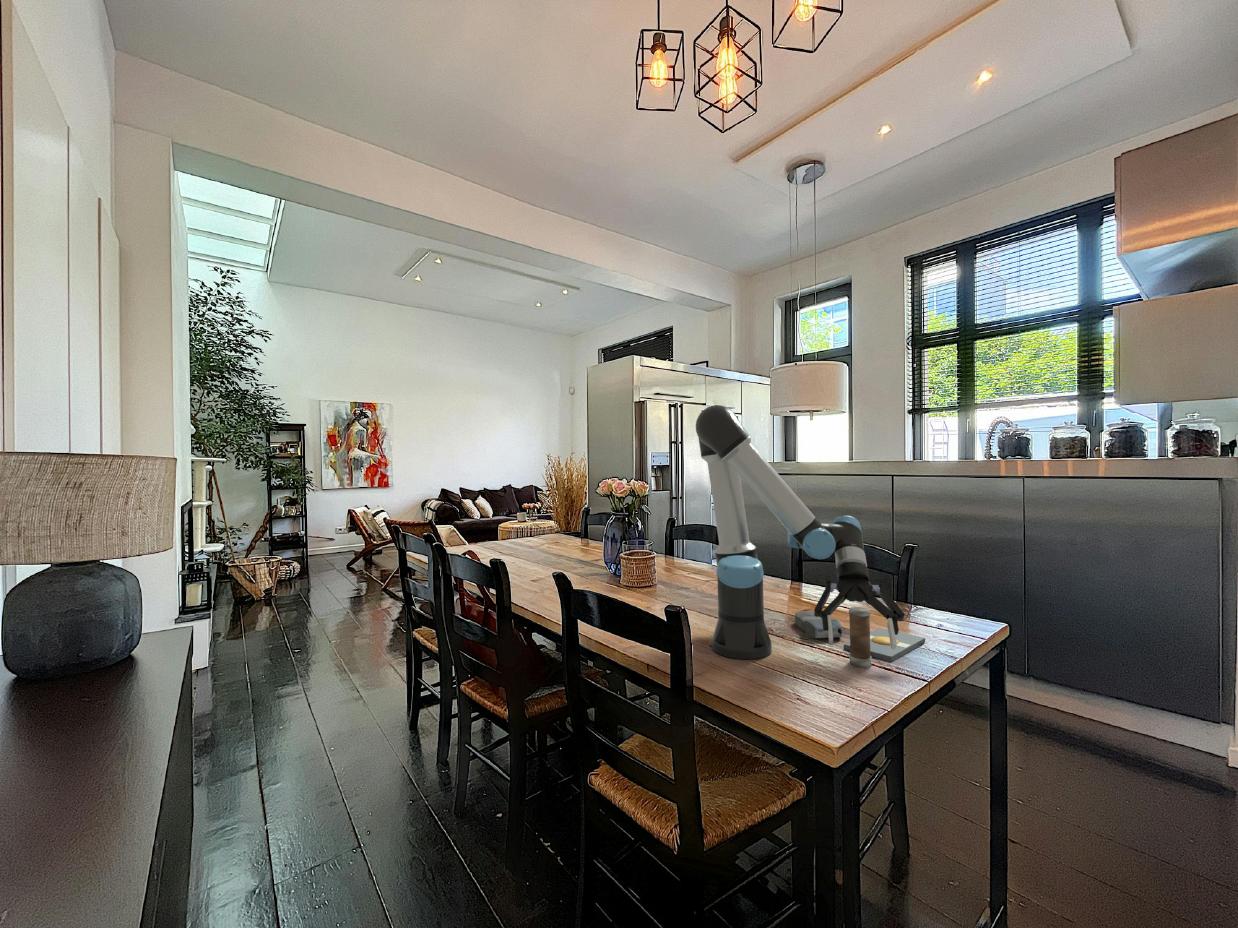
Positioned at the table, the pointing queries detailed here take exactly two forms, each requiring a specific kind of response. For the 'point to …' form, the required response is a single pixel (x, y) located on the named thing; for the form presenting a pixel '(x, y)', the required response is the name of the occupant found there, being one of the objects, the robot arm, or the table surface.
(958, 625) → the table surface
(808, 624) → the handheld device
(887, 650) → the board
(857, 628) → the tall brown post
